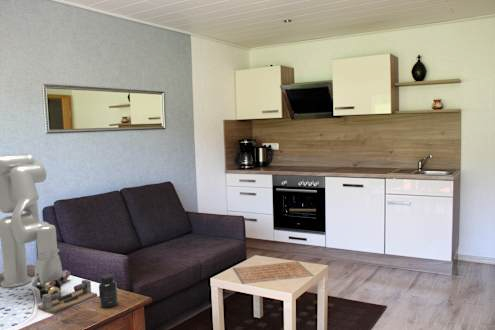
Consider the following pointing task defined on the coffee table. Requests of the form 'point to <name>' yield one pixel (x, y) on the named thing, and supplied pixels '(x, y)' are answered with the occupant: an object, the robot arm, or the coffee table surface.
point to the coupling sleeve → (51, 290)
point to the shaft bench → (67, 298)
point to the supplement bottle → (108, 291)
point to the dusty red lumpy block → (63, 279)
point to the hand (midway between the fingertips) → (50, 295)
